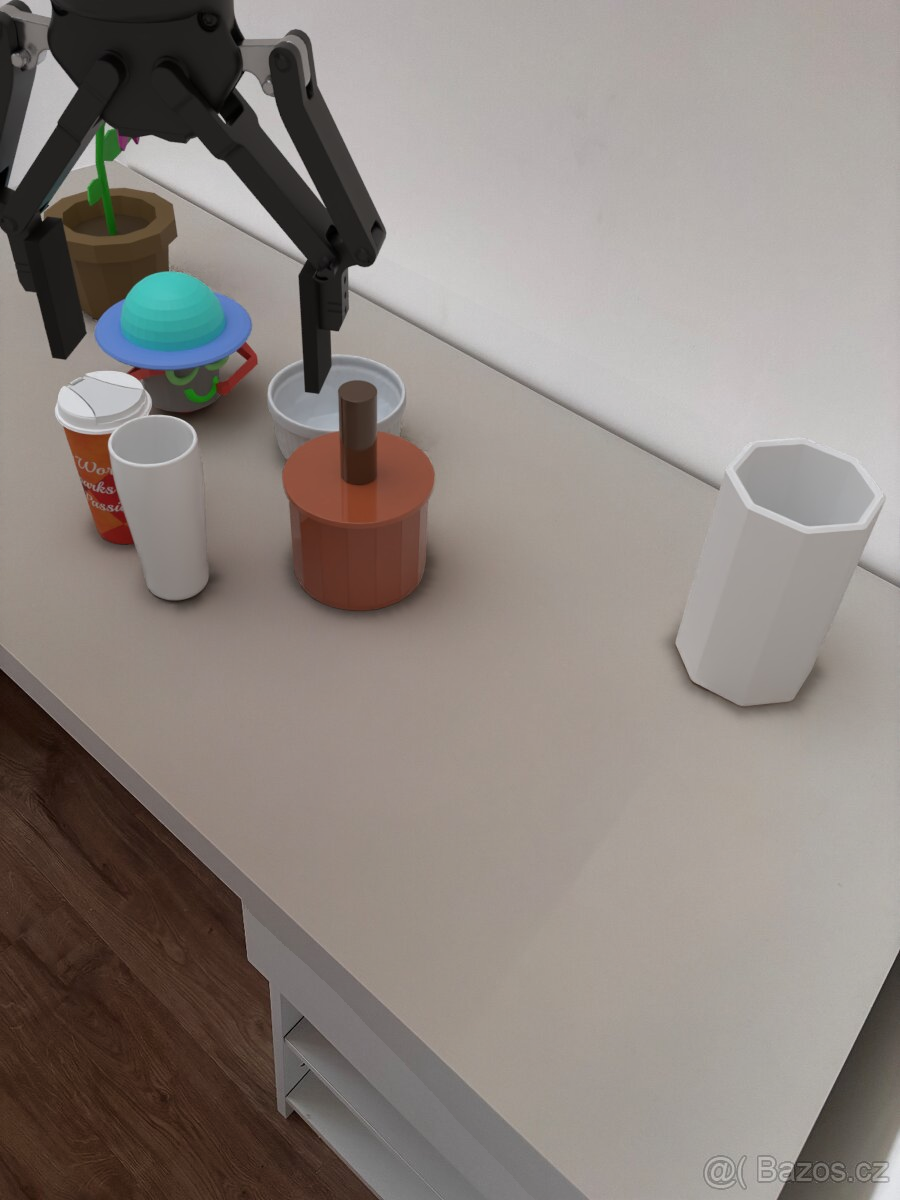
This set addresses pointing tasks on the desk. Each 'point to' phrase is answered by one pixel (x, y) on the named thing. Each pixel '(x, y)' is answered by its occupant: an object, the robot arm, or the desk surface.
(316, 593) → the jar
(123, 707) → the desk surface
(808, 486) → the cup
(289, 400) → the ramekin
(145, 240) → the flowerpot
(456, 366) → the desk surface
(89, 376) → the paper cup
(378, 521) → the lid
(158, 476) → the white plastic tumbler
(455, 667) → the desk surface
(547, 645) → the desk surface
